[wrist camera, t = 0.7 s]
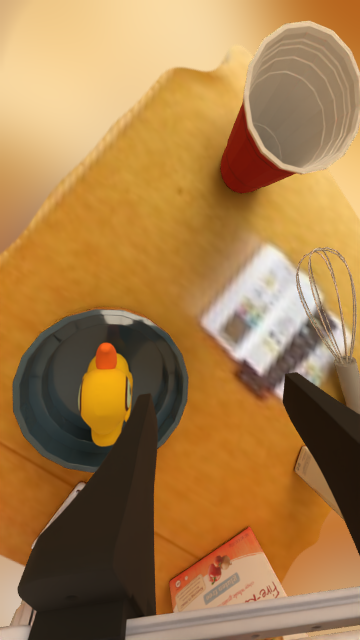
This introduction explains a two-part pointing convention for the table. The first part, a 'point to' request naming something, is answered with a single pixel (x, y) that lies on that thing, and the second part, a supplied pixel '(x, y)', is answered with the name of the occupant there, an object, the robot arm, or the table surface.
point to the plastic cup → (293, 108)
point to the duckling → (106, 395)
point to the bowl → (67, 374)
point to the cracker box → (229, 579)
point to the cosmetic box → (315, 478)
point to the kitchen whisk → (354, 385)
